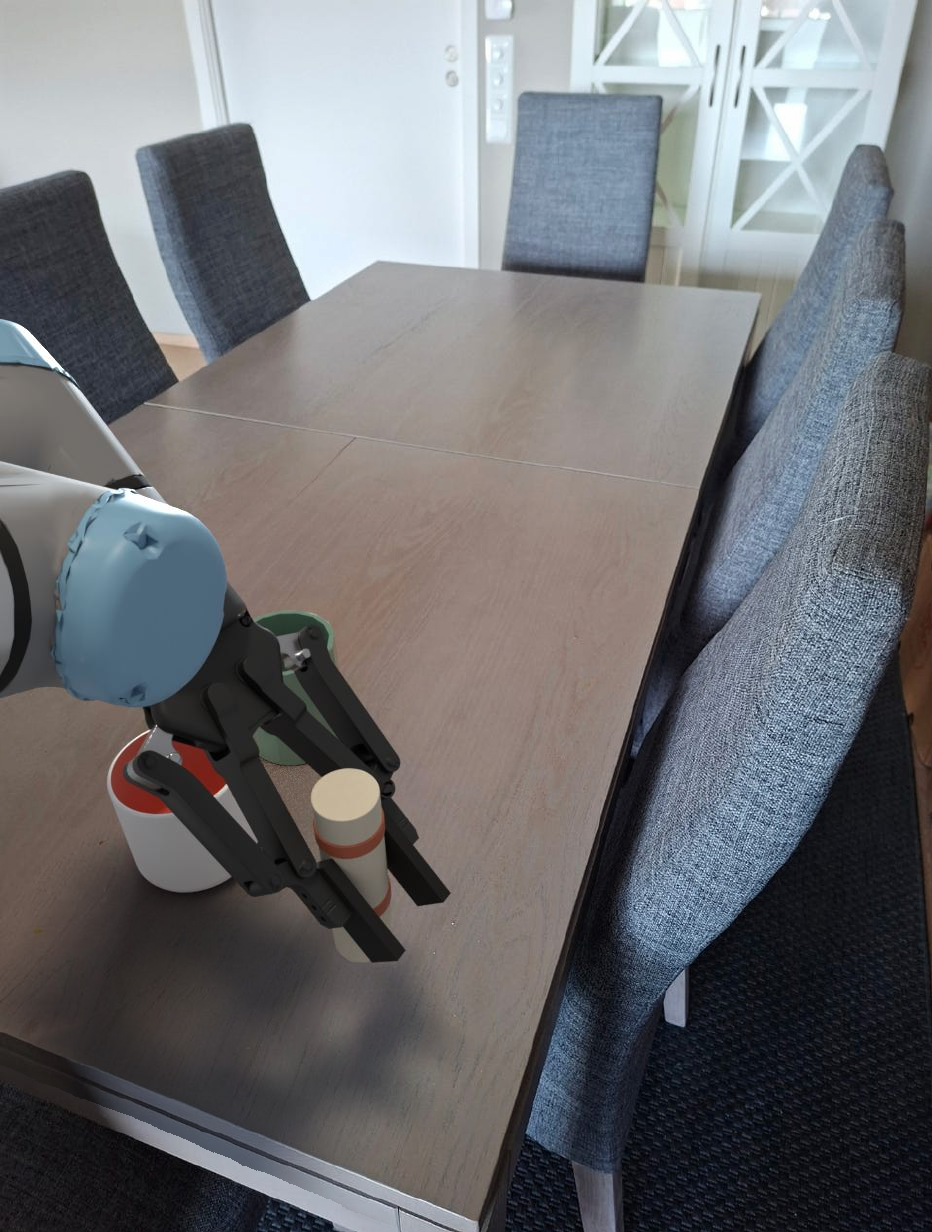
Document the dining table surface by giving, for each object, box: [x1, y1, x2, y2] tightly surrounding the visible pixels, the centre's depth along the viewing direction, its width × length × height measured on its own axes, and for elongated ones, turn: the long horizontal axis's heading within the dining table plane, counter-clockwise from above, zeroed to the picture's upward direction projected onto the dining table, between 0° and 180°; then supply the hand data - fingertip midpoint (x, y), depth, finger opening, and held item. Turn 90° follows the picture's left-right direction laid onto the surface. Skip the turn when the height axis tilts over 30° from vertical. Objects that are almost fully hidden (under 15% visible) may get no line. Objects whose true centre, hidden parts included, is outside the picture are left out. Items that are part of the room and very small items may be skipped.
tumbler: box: [252, 609, 340, 766], centre depth 80 cm, size 9×9×11 cm
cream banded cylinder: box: [310, 768, 395, 964], centre depth 49 cm, size 4×4×13 cm
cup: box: [106, 729, 259, 893], centre depth 69 cm, size 10×10×10 cm
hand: (411, 926), depth 49 cm, fingers closed on cream banded cylinder, 4 cm apart
